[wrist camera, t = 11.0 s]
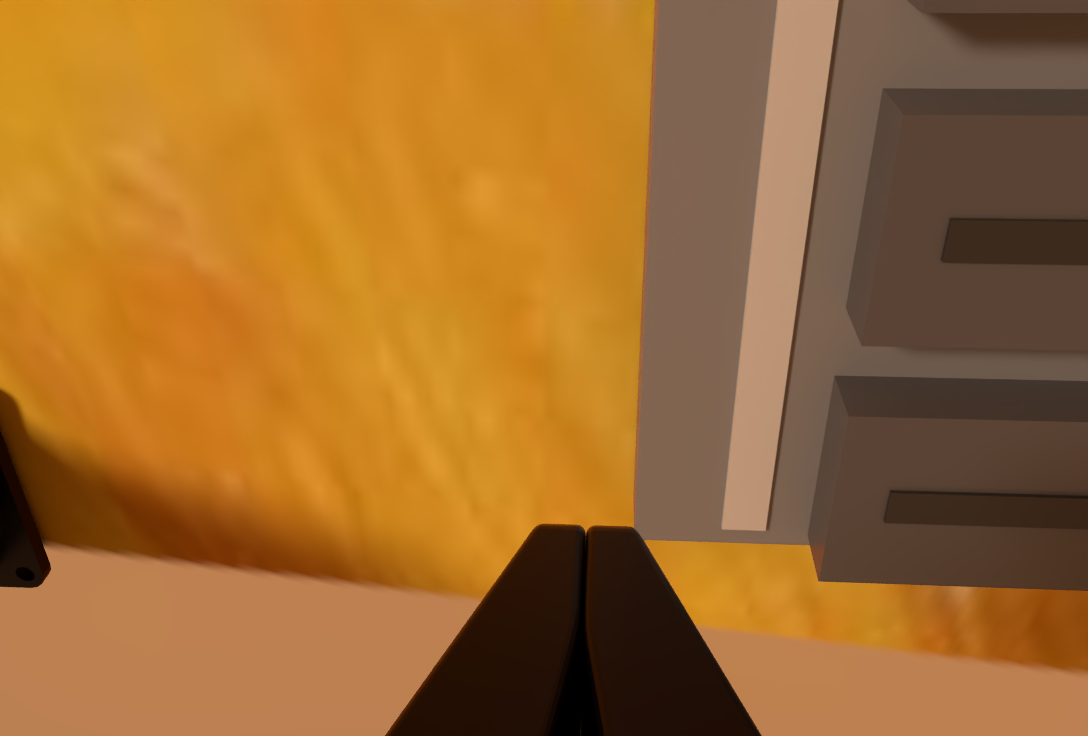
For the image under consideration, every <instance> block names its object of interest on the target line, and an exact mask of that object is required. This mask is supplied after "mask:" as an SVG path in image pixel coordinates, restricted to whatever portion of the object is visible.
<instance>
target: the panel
mask: <svg viewBox="0 0 1088 736" xmlns="http://www.w3.org/2000/svg"><path fill="white" fill-rule="evenodd" d="M634 529H636V530H637V531H638V533H639V534H640V535H641V537H642V539H643V540H667V541H698V542H728V543H759V544H789V545H810V548H811V552H812V556H813V560H814V564H815V568H816V572H817V577H818V581H824V582H852V583H881V584H910V585H938V586H967V587H995V588H1024V589H1052V590H1081V591H1088V0H655V18H654V41H653V64H652V87H651V110H650V133H649V156H648V179H647V202H646V225H645V248H644V271H643V294H642V317H641V340H640V363H639V386H638V409H637V432H636V455H635V478H634Z"/></svg>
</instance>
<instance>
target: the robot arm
mask: <svg viewBox="0 0 1088 736" xmlns="http://www.w3.org/2000/svg"><path fill="white" fill-rule="evenodd" d="M50 570H51V567H50V563H49V560H48V557H47V554H46V552H45V549H44V546H43V544H42V541H41V539H40V536H39V533H38V531H37V528H36V525H35V523H34V520H33V517H32V515H31V512H30V509H29V507H28V504H27V501H26V499H25V496H24V493H23V491H22V488H21V485H20V483H19V480H18V478H17V475H16V472H15V470H14V467H13V464H12V462H11V459H10V456H9V454H8V451H7V448H6V446H5V443H4V440H3V438H2V435H1V432H0V587H25V588H32V587H38V586H39V585H41V584H42V583H43V581H44V580H45V578H46V577H47V575H48V574H49V572H50ZM385 736H761V734H760V733H759V731H758V729H757V727H756V726H755V724H754V722H753V721H752V719H751V717H750V716H749V714H748V712H747V711H746V709H745V707H744V706H743V704H742V703H741V701H740V699H739V698H738V696H737V694H736V693H735V691H734V689H733V688H732V686H731V684H730V683H729V681H728V679H727V678H726V676H725V674H724V673H723V671H722V669H721V668H720V666H719V665H718V663H717V661H716V659H715V658H714V656H713V654H712V653H711V651H710V650H709V648H708V646H707V645H706V643H705V641H704V640H703V638H702V636H701V635H700V633H699V631H698V630H697V628H696V626H695V625H694V623H693V621H692V620H691V618H690V616H689V615H688V613H687V611H686V610H685V608H684V606H683V605H682V603H681V602H680V600H679V598H678V597H677V595H676V593H675V592H674V590H673V588H672V587H671V585H670V583H669V582H668V580H667V578H666V577H665V575H664V573H663V572H662V570H661V568H660V567H659V565H658V563H657V562H656V560H655V558H654V557H653V555H652V554H651V552H650V550H649V549H648V547H647V545H646V544H645V542H644V540H643V539H642V537H641V535H640V534H639V533H638V531H637V530H636V529H634V528H632V527H627V526H597V525H595V526H592V527H590V528H589V529H588V530H587V533H586V534H585V530H584V528H583V527H581V526H580V525H566V524H540V525H538V526H536V527H535V528H534V529H533V530H532V532H531V533H530V534H529V536H528V537H527V539H526V540H525V541H524V543H523V544H522V546H521V547H520V548H519V550H518V551H517V553H516V554H515V555H514V557H513V558H512V559H511V561H510V562H509V564H508V565H507V566H506V568H505V569H504V571H503V572H502V573H501V575H500V576H499V578H498V579H497V580H496V582H495V583H494V585H493V586H492V587H491V589H490V590H489V592H488V593H487V594H486V596H485V597H484V599H483V600H482V601H481V603H480V604H479V605H478V607H477V608H476V610H475V611H474V612H473V614H472V615H471V617H470V618H469V620H468V621H467V622H466V624H465V625H464V626H463V628H462V629H461V631H460V632H459V634H458V635H457V636H456V638H455V639H454V640H453V642H452V643H451V645H450V646H449V647H448V649H447V650H446V652H445V653H444V654H443V656H442V657H441V659H440V660H439V661H438V663H437V664H436V665H435V667H434V668H433V670H432V671H431V672H430V674H429V675H428V677H427V678H426V680H425V681H424V682H423V684H422V685H421V687H420V688H419V689H418V691H417V692H416V694H415V695H414V696H413V698H412V699H411V700H410V702H409V703H408V705H407V706H406V708H405V709H404V710H403V711H402V713H401V714H400V716H399V717H398V719H397V720H396V721H395V723H394V724H393V725H392V727H391V728H390V730H389V731H388V733H387V734H386V735H385Z"/></svg>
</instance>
